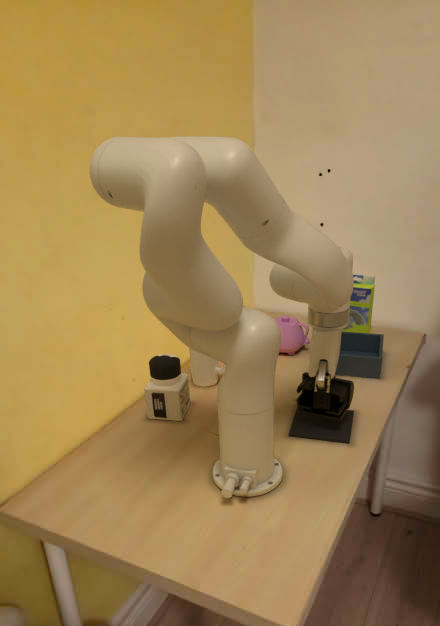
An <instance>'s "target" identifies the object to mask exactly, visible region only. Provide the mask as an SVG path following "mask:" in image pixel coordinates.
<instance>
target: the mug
mask: <svg viewBox="0 0 440 626" xmlns="http://www.w3.org/2000/svg"><path fill="white" fill-rule="evenodd" d="M188 350H189V358H190V359H189V360H190V371H191V377H192V383H193V384H194V385H196V386H197V387H203V388H204V387H212V386H215V385H217V384H218V383H219V375H221V376H223V375H224V373H225V371H226V366H225V364H224V363H223V365H222V367H219V361H218V360H216V359H213V358H211V357H208V356H206V355H203V354H201V353H199V352H196V351H194V350H192V349H191V348H189V347H188Z"/></svg>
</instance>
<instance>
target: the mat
mask: <svg viewBox="0 0 440 626" xmlns="http://www.w3.org/2000/svg"><path fill="white" fill-rule="evenodd" d="M297 409H298V406H296V410H295V413H294V416H293V419H292V422H291V425H290V428H289V431H288V435H287V436H288V437H291V438H298V439H299V438H300V439H309V440H316V441H326V442H332V443H333V442H334V443H342V444H348V445H349V444H350V443H351V436H352V430H353V429H352V428H353V422H354V416H355V415H354V414H355V410H352V409H347V411H346V413H345V414H344V416H343V417H342V419H341V420H340V421H336V420H332V419H327V418H323V417H319V416H314V415H310V414H305V413H301V412H298V411H297Z"/></svg>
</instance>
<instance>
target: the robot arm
mask: <svg viewBox="0 0 440 626" xmlns="http://www.w3.org/2000/svg"><path fill="white" fill-rule="evenodd" d="M89 163H90V164H89V177H90V182H91V184H92V187H93V189H94V190H95V192H96V194H97V195H98V196H99V197H100V199H102V200H103V201H105V202H106V203H107V204H109V205H111V206H113V207H115V208H120V209H124V210H131V211H136V212H143V215H142V221H141V229H140V236H139V237H140V238H139V259H140V263H141V265H142V267H143V269H144V271H145V272H144V275H143V278H142V285H141V286H142V287H141V289H142V290H141V291H142V297H143V299H144V303H145V305H146V307H147V308H148V310H149V311H150V313H151V314H152V315H153V316H154V317H155V318H156V319H157V320H158V321H159V322H160V323H161V324H162V325H163V326H164V327H165V328H166V329H168V331H170V332H171V334H173V335H174V336H175V337H176V338H177V339H178V340H179V341H180V342H181V343H182V344H183V345H185V346H186V347H188V349H189V348H191V349H192V350H194V351H196V352H199V353H201V354H203V355H206V356H208V357H211V358H213V359H216V360H218V362H220V363H222V364H223V365H224V364H225V366H226V371H225V373H224V375H221V376H222V377H220V379H219V380H218V382H217V388H216V402H217V418H218V419H217V421H218V436H219V437H218V438H219V440H218V441H219V455H220V457H219V459H217V460H216V462H215V463H214V464H213V466H212V471H211V472H212V480H213V482H214V483H215V485H216V486H217V487H218V489H221V491H220V494H221V496H222V497H223V498H225V499H230V498H232V496H233V495H234V496H238V497H257V496H262V495H265V494H267V493H269V492H271V491H273V490H275V489H276V488H277V487H278V486H279V485H280V483H281V482H282V479H283V466H282V464H281V462H280V461H279V460H278V459H277V458H276V457H275V381H276V370H277V363H278V359H279V354H280V352H279V351H280V346H281V331H280V328H279V326H278V324H277V323H276V321H275V320H274V319H275V318H274V317H273V318H272V316H270V315H269V314H267V313H265V312H263V311H262V310H259V309H256V308H253V307H250V306H246V305H244V299H243V294H242V292H241V289H240V287H239V285H238V283H237V282H236V280H235V279H234V278H233V276H232V275H231V274H230V273H229V272H228V270H227V269H226V268H225V266H224V265H223V263H221V261H220V260H219V258H218V257H217V256H216V254H215V253H214V252H213V251H212V249H211V248H210V247H209V245H208V243H207V242H206V241H205V239H204V237H203V233H202V217H203V210H204V205H205V204H208V205H209V206H211V207H212V208H213V209H214V210H215V211H216V212H217V214H218V215H219V216H220V217H221V218H222V219H223V221H224V223H226V225H227V226H228V227H229V228H230V230H231V231H232V232H233V233H234V235H235V236H236V237H237V239H238V240H239V241H240V242H241V244H242V245H243V246H245V248H246V249H247V250H249V251H250V252H252V253H254V254H256V255H257V256H259V257H261V258H263V259H265V260H267V261H270V262H271V263H274V264H273V266H272V268H271V270H270V272H269V278H268V280H269V285H270V288H271V289H272V291H273V293H275V294H276V295H277V296H278V297H281V298H283V299H286V300H290V301H294V302H298V303H303V304H307V325H308V327H310V328H312V330H311V337H310V351H309V364H308V365H309V366H308V373H309V376H310V377H315V375H316V381H315V389H314V400H313V407H314V408H317V409H326V410H329V409H330V401H331V391H330V382H331V379H332V378H336V375H335V374H336V368H337V364H338V359H339V353H340V345H341V333H342V329H343V328H345V327H347V326H348V324H349V311H350V297H351V295H352V292H353V287H354V280H355V279H354V277H353V275H354V274H353V273H354V272H353V267H354V256H353V253H352V251H351V250H350V249H348V248H346V247H343V246H339V245H338V244H337V243H336V242H335V241H334V240H333V239H332V238H331V237H330V236H328V235H327V234H326V233H325V232H323V231H322V230H320V229H319V228H318V227H316V226H315V225H314V224H312V222H310V221H308V219H306V218H305V217H303V216H302V215H300V214H299V213H297V212H296V211H294V210H293V209H291V207H290V206H289V205H288V204H287V202H286V200H285V198H284V197H283V195H282V194H281V191H279V189H278V188H277V186H276V185H275V183H274V181H273V180H272V178H271V177H270V174H269V173H268V172H267V170H266V168H265V167H264V166H263V163H262V162H261V161H260V159H259V157H258V156H257V155H256V153H255V152H254V150H253V149H252V148H251V147H250V146H249V144H247V143H246V142H245V141H243V140H241V139H239V138H236V137H230V136H212V135H211V136H207V135H206V136H203V135H201V136H200V135H184V136H167V137H166V136H164V137H162V136H161V137H160V136H159V137H158V136H157V137H152V136H151V137H150V136H113V137H110V138H108V139H106V140H105V141H103V142H101V143H100V144H99V145H98V146H97V147H96V149H95V150H94V152H93V153H92V156H91V159H90V162H89ZM325 379H328V380H327V384H326V383H325Z"/></svg>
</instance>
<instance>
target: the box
mask: <svg viewBox="0 0 440 626" xmlns="http://www.w3.org/2000/svg"><path fill="white" fill-rule="evenodd" d="M353 278H356V279H361V280H356V279H354V287H353V292H352V295H351V297H350V311H349V324H348V326H347V327H345V328H343V329H342V332H356V333H371V330H372V329H371V328H372V317H373V307H374V297H375V287H376V285H375V282H376V281H375V279H376V276H375V275H363V274H353Z"/></svg>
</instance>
